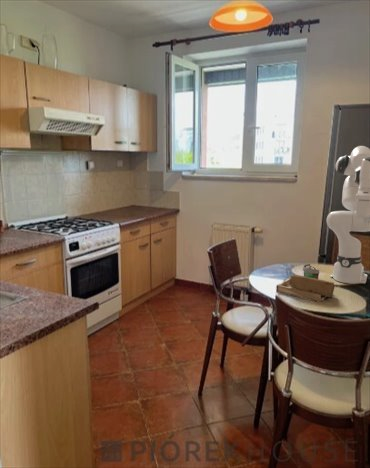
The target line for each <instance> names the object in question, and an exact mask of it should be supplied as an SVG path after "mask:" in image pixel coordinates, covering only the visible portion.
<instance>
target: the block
mask: <svg viewBox="0 0 370 468" xmlns="http://www.w3.org/2000/svg"><path fill="white" fill-rule="evenodd" d="M290 278H291V283H290V286H291V287H292V288H295V289H299V290H303V291H307V292H312V293H316V294H320V295H321V296H326V298H331V297H332V295H333V293H334V291H335V283H334V282H332V281H328V280H324V279H320V278H318V279H315V278H310V277H305V276H304V275H298V274H291V277H290Z"/></svg>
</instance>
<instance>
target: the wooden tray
mask: <svg viewBox="0 0 370 468" xmlns="http://www.w3.org/2000/svg"><path fill="white" fill-rule="evenodd" d="M290 283H291V277H289V278H287V279H285V280H283V281H282V282H280V283H278V284H276V287H275V289H276V293H278V294H284V293H285V294H284V295H288V294H290V295H289V296H292V295H294V296H293V297H296V296H298V297H297V298H300V297H302V298H301V299H304V298H306V299H305V300H308V299H310V300H309V301H312V300H314V301H313V302H316V301H318V302H317V303H321V302H322V301H324V300H325V299H326V298H327V297H326V296H321V295H320V294H316V293H312V292H307V291H303V290H299V289H295V288H292V287H291V286H290ZM324 298H325V299H324ZM320 301H321V302H320Z"/></svg>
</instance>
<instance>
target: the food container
mask: <svg viewBox="0 0 370 468" xmlns="http://www.w3.org/2000/svg"><path fill="white" fill-rule="evenodd" d="M301 269H302V271H303V276H305V277H310V278H315V279H319V275H320V269H316V268H315V267H314V266H312V265H311V263H305V264H303V266H302V268H301Z"/></svg>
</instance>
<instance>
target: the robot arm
mask: <svg viewBox="0 0 370 468" xmlns="http://www.w3.org/2000/svg"><path fill="white" fill-rule="evenodd" d="M335 170H336V173H337V174H338V175H340V176H346V178H345V180H344V182H343V186H342V194H341V195H342V197H341V204H342V206H343V207H344V208H345V209H347V210H334V211H331V212H330V213H328V214H327V217H326V225H327V227H328V228H329V229H330V230H331V231H333V233H334V234H335V236H336V237H337V240H338V253H337V257H336V258H337V259H336V260H337V261H336V262H334V265H333V272H332V274H330V276H331V278H332V277H333V278H332V279H333V280H334V281H337V282H339V283H343V284H345V283H346V284H350V285H351V284H353V285H355V284H366V283H367V281H368V280H367V279H368V274H366V273H364V269H365V267H364V264H362V259H363V258H362V257H363V256H362V254H361V253H362V252H361V251H362V242H361V241H360V240H359V239H358V238H356V237H354V236H352V235H351V233H350V232H363V233H366V232H370V148H369V147H367V146H365V145H357V146H356V147H354V148H353V150H352V151H351V152H350V155H347V154H345V155H344V156H343V155H342V156H340V157H339V158H338V159H337V161H336V163H335ZM330 276H329V277H330Z"/></svg>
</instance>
